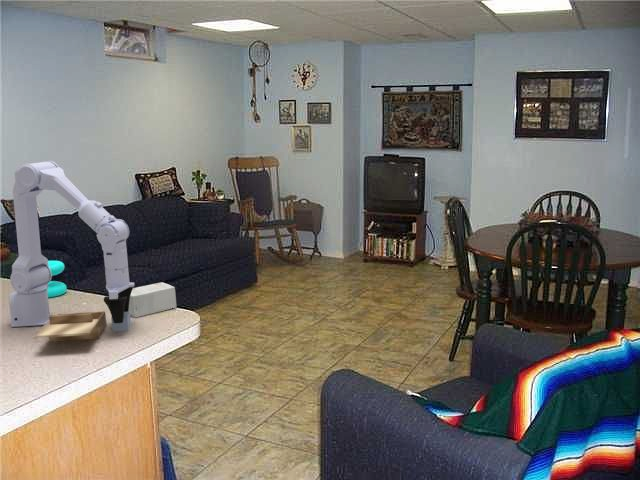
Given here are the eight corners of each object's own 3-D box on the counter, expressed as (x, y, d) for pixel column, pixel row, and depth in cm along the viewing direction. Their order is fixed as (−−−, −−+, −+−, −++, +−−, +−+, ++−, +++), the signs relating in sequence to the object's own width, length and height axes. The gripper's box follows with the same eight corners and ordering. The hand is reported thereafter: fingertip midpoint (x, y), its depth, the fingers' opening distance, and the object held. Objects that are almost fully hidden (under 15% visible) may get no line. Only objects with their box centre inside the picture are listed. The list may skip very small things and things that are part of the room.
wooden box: (49, 341, 167) (47, 326, 167) (59, 328, 177) (58, 313, 176) (98, 338, 169) (97, 323, 168) (106, 325, 178) (105, 311, 178)
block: (112, 331, 174) (111, 317, 173) (115, 326, 178) (114, 312, 177) (128, 331, 174) (127, 316, 173) (131, 326, 178) (129, 311, 177)
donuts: (22, 265, 206) (47, 258, 215) (25, 297, 208) (50, 288, 217) (46, 268, 202) (71, 261, 210) (49, 300, 204) (74, 291, 212)
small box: (134, 318, 184) (177, 308, 192) (132, 296, 183) (175, 286, 191) (122, 312, 190) (164, 302, 199) (120, 290, 189) (162, 281, 197)
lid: (35, 337, 157) (34, 327, 157) (47, 323, 168) (46, 314, 167) (89, 334, 159) (88, 324, 158) (98, 320, 169) (97, 311, 168)
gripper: (127, 273, 166) (132, 326, 169) (136, 260, 180) (141, 308, 183) (98, 275, 165) (103, 327, 168) (109, 261, 179) (114, 310, 182)
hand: (121, 318), depth 175 cm, fingers open, 7 cm apart
